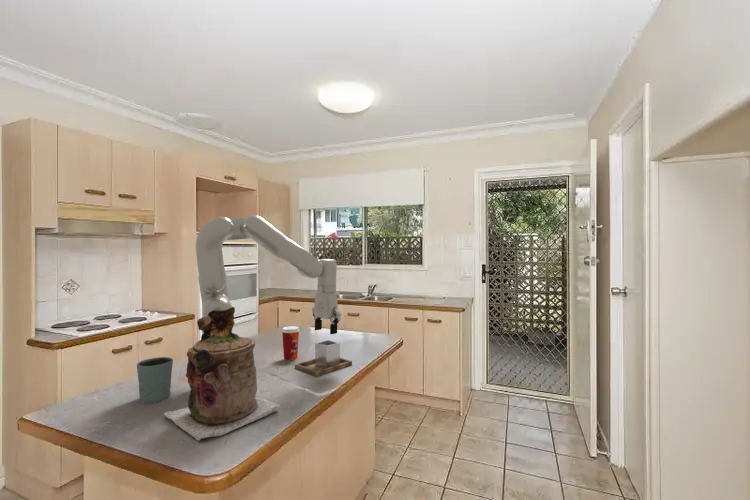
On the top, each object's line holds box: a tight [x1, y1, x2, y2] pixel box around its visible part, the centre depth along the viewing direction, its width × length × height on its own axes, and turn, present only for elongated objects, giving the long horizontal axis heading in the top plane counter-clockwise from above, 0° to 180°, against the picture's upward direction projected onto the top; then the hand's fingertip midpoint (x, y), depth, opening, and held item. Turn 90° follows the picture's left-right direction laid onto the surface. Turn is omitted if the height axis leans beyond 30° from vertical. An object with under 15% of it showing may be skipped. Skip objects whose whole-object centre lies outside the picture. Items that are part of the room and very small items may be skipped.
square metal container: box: [314, 339, 341, 369], centre depth 150 cm, size 7×7×9 cm
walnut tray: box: [294, 357, 353, 377], centre depth 148 cm, size 18×14×2 cm
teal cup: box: [136, 356, 174, 404], centre depth 121 cm, size 10×10×12 cm
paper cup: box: [281, 325, 300, 361], centre depth 160 cm, size 8×8×14 cm
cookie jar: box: [163, 306, 281, 441], centre depth 108 cm, size 25×25×32 cm
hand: (325, 331), depth 149 cm, fingers open, 9 cm apart
